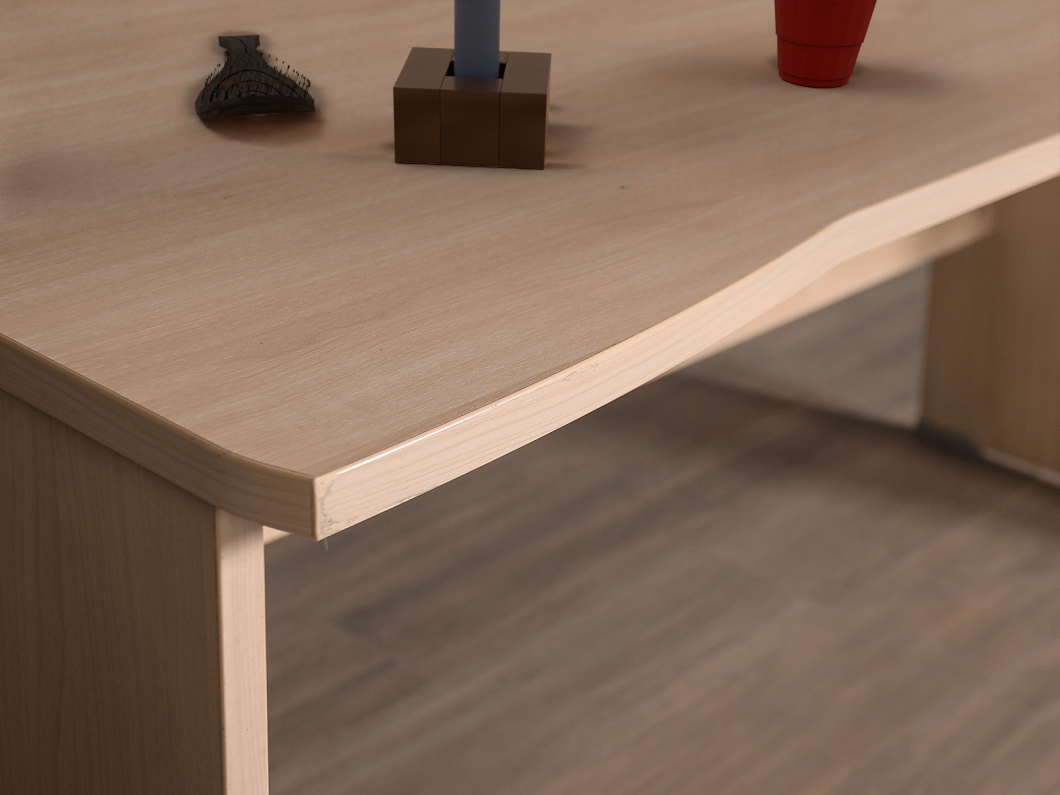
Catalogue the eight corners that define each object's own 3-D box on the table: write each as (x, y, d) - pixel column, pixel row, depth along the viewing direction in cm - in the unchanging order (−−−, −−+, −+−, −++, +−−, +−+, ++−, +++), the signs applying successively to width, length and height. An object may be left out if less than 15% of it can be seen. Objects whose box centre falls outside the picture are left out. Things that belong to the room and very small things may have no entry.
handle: (452, 147, 83) (452, -20, 78) (456, 133, 86) (456, -30, 80) (496, 149, 83) (499, -18, 78) (499, 135, 86) (502, -28, 80)
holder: (394, 162, 80) (392, 87, 78) (413, 116, 89) (412, 46, 86) (544, 169, 80) (547, 94, 78) (548, 122, 89) (551, 52, 86)
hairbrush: (284, 9, 103) (321, 79, 82) (287, 54, 105) (325, 133, 84) (182, 13, 101) (193, 86, 80) (187, 58, 103) (200, 141, 82)
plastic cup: (722, 63, 104) (739, -88, 98) (835, 56, 107) (858, -90, 101) (784, 102, 95) (806, -62, 89) (905, 93, 98) (935, -66, 92)
